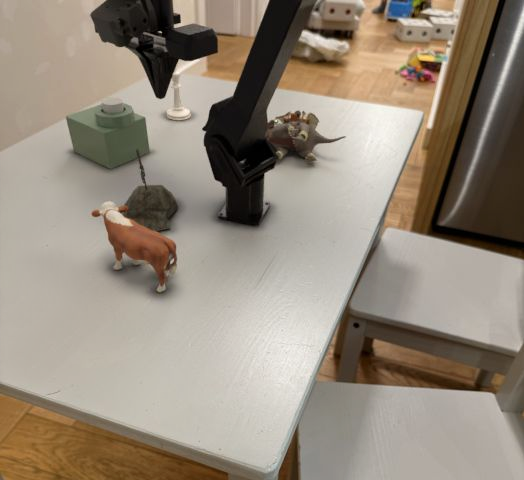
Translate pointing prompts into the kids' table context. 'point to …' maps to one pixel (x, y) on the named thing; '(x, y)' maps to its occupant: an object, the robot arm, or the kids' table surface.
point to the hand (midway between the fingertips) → (160, 98)
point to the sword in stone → (150, 204)
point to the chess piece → (177, 101)
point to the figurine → (296, 134)
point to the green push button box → (108, 135)
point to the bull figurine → (138, 242)
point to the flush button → (112, 105)
